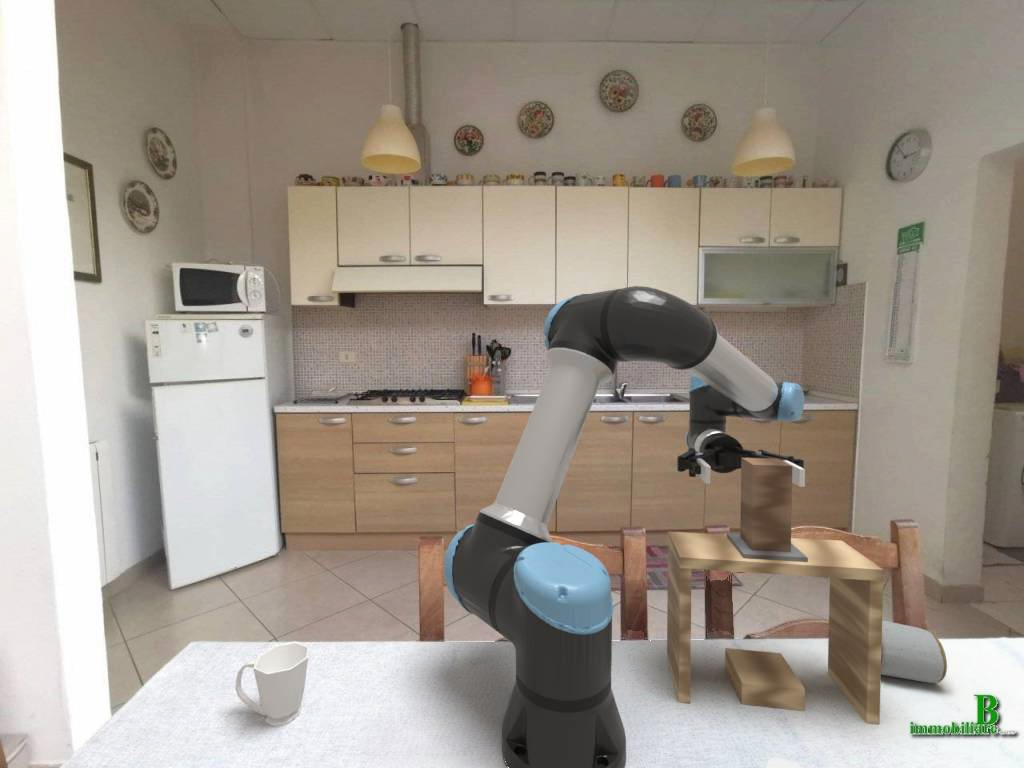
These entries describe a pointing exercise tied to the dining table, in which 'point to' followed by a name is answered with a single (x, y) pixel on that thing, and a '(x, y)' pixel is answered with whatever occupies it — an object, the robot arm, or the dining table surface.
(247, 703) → the cup
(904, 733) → the dining table surface
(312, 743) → the dining table surface
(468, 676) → the dining table surface
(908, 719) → the dining table surface
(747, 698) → the wooden side table
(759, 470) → the walnut block
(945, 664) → the ceramic mug
